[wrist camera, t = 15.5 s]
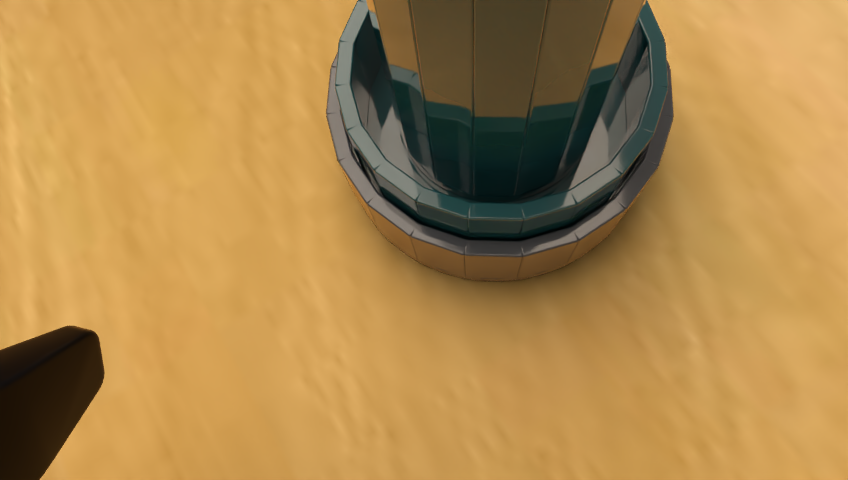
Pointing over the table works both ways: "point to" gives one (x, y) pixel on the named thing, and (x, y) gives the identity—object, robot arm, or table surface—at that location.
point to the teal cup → (500, 86)
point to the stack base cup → (490, 255)
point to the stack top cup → (519, 219)
